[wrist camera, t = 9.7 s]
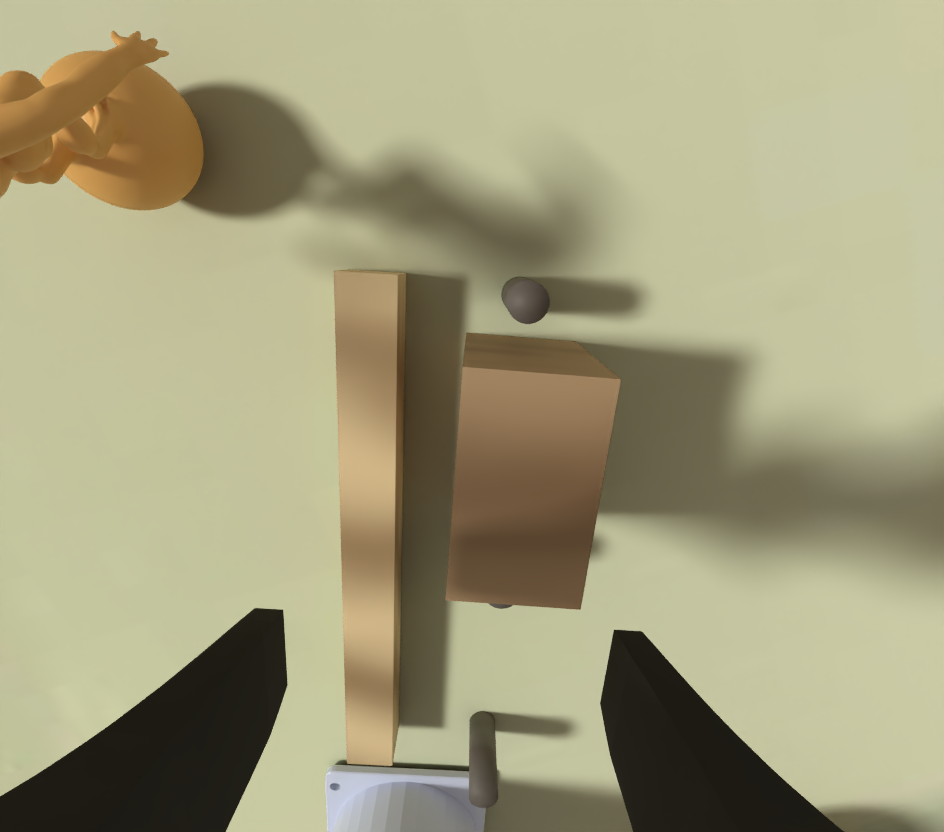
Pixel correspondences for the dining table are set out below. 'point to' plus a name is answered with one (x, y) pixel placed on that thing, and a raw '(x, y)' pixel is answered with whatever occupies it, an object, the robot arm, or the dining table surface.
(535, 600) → the wooden box
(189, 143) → the figurine
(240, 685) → the robot arm
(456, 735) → the dining table surface
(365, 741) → the ledge
